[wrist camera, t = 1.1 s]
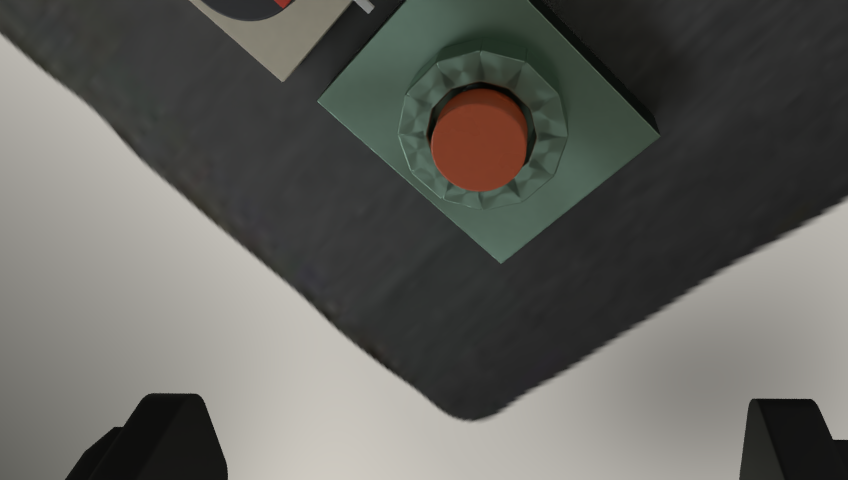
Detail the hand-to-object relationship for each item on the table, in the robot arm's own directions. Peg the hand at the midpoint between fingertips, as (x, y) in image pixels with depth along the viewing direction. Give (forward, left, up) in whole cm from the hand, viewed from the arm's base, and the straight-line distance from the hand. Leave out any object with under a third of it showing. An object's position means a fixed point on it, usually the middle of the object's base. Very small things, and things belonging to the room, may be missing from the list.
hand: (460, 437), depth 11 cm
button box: (+1, -3, -23) cm, 23 cm away
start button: (+1, -3, -19) cm, 20 cm away
